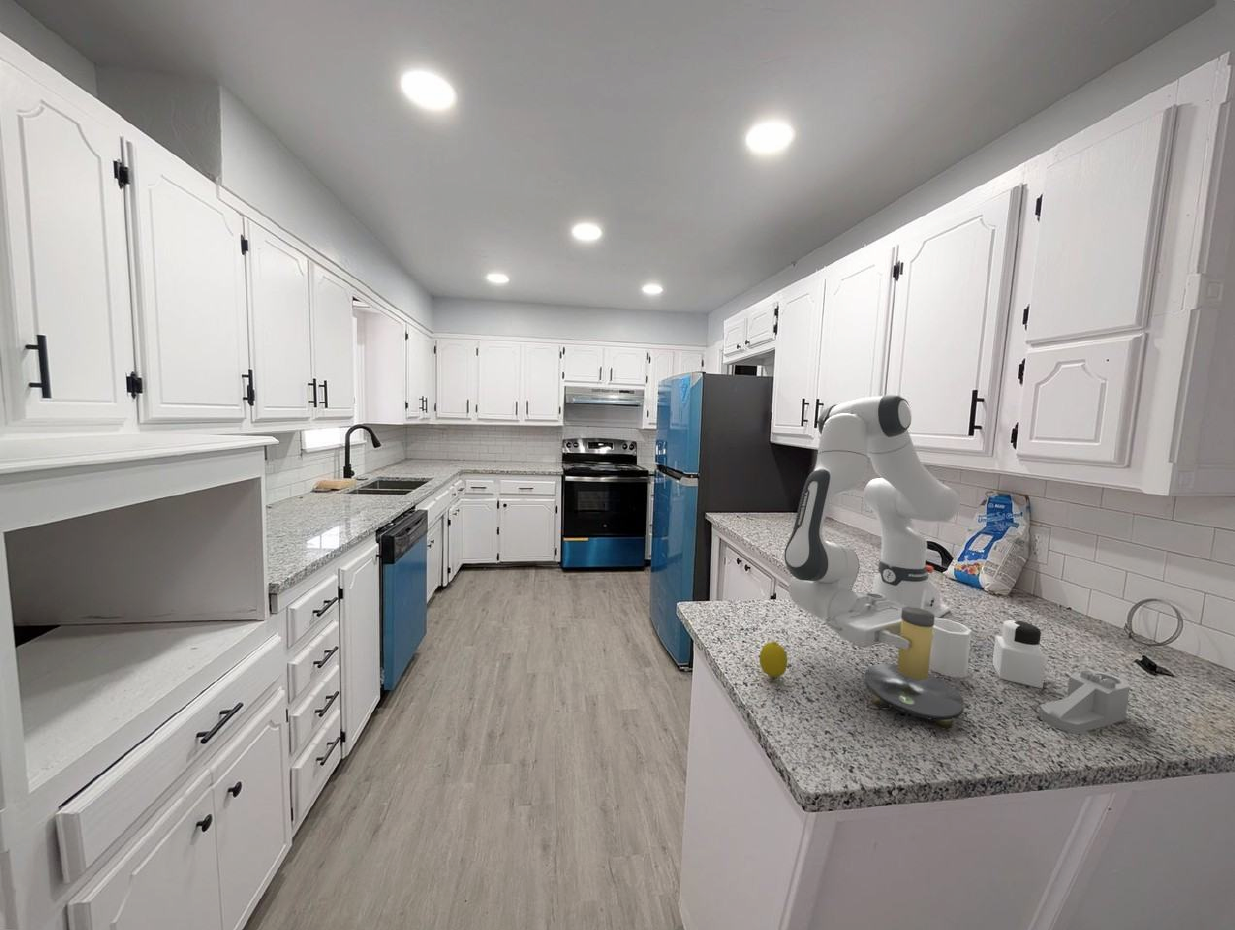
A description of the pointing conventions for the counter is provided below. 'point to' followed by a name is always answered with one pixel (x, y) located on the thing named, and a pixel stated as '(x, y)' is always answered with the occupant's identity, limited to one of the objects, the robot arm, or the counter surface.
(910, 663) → the yellow lidded tumbler
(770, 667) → the lemon
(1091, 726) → the sloped support bracket
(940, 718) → the plate
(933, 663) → the mug
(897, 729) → the counter surface
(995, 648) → the medicine bottle
